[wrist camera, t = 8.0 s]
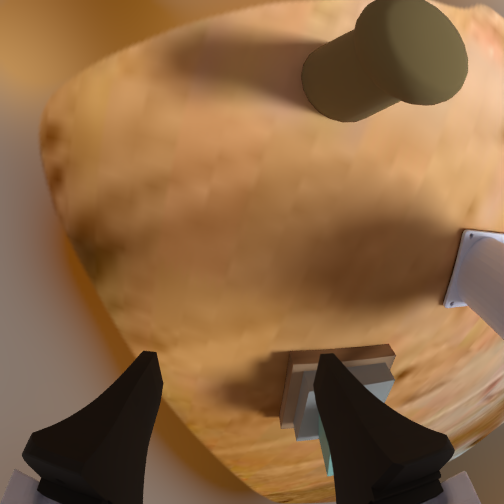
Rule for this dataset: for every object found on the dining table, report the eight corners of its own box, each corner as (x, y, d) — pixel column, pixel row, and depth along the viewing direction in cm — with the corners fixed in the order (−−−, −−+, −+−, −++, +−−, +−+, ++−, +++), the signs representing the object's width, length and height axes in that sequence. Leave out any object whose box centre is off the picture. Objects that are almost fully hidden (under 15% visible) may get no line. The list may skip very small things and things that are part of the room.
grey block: (385, 362, 24) (395, 379, 21) (363, 413, 27) (370, 430, 24) (303, 371, 23) (308, 391, 21) (293, 422, 26) (296, 441, 24)
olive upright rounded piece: (350, 139, 18) (452, 146, 8) (283, 83, 17) (331, 23, 7) (395, 84, 17) (501, 61, 7) (333, 29, 15) (406, -43, 5)
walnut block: (386, 339, 26) (396, 355, 24) (360, 403, 29) (366, 418, 27) (289, 346, 25) (293, 364, 23) (278, 411, 29) (280, 428, 27)
